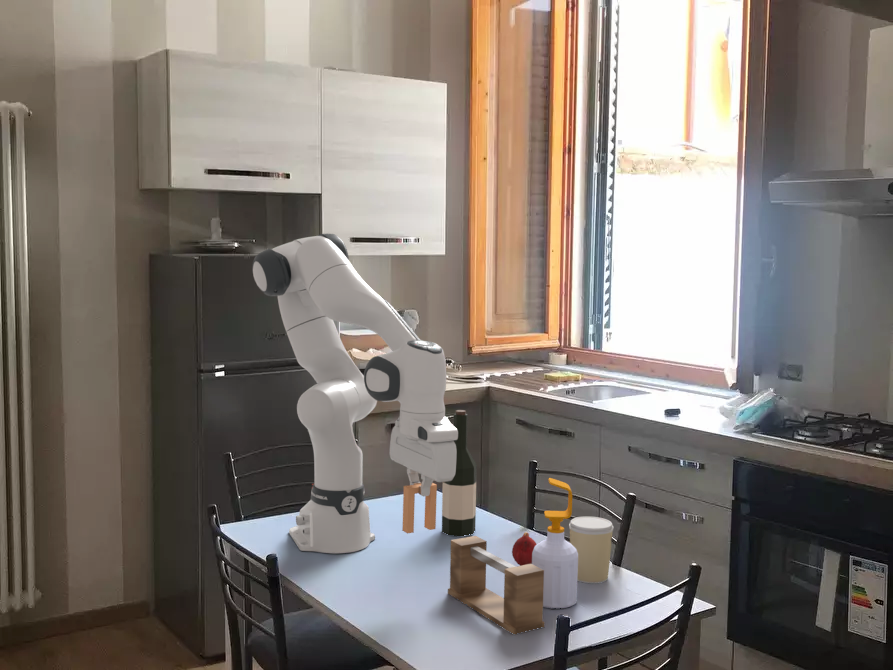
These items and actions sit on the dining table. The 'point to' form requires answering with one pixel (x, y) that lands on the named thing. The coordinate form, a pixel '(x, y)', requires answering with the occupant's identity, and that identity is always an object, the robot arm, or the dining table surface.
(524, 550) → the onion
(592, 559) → the coffee cup
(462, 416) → the wine bottle
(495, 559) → the wooden rail stand
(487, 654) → the dining table surface
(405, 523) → the wooden arch
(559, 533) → the soap bottle
